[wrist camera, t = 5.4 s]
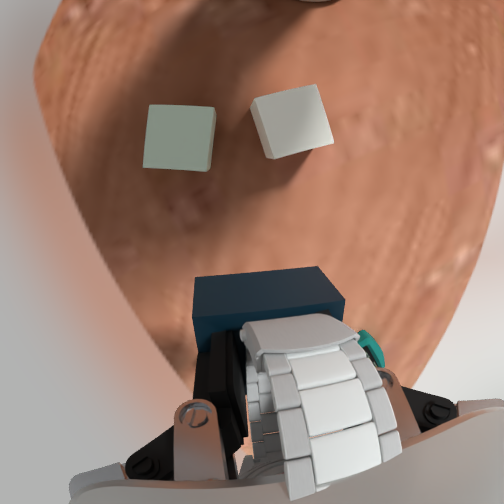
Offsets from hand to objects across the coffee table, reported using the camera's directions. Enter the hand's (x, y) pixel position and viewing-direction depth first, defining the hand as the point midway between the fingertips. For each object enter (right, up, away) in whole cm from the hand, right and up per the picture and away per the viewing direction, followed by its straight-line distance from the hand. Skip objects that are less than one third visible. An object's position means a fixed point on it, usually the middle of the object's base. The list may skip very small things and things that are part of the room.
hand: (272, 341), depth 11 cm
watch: (-1, +1, +2) cm, 3 cm away
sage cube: (-7, +14, +13) cm, 20 cm away
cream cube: (+2, +15, +13) cm, 20 cm away
